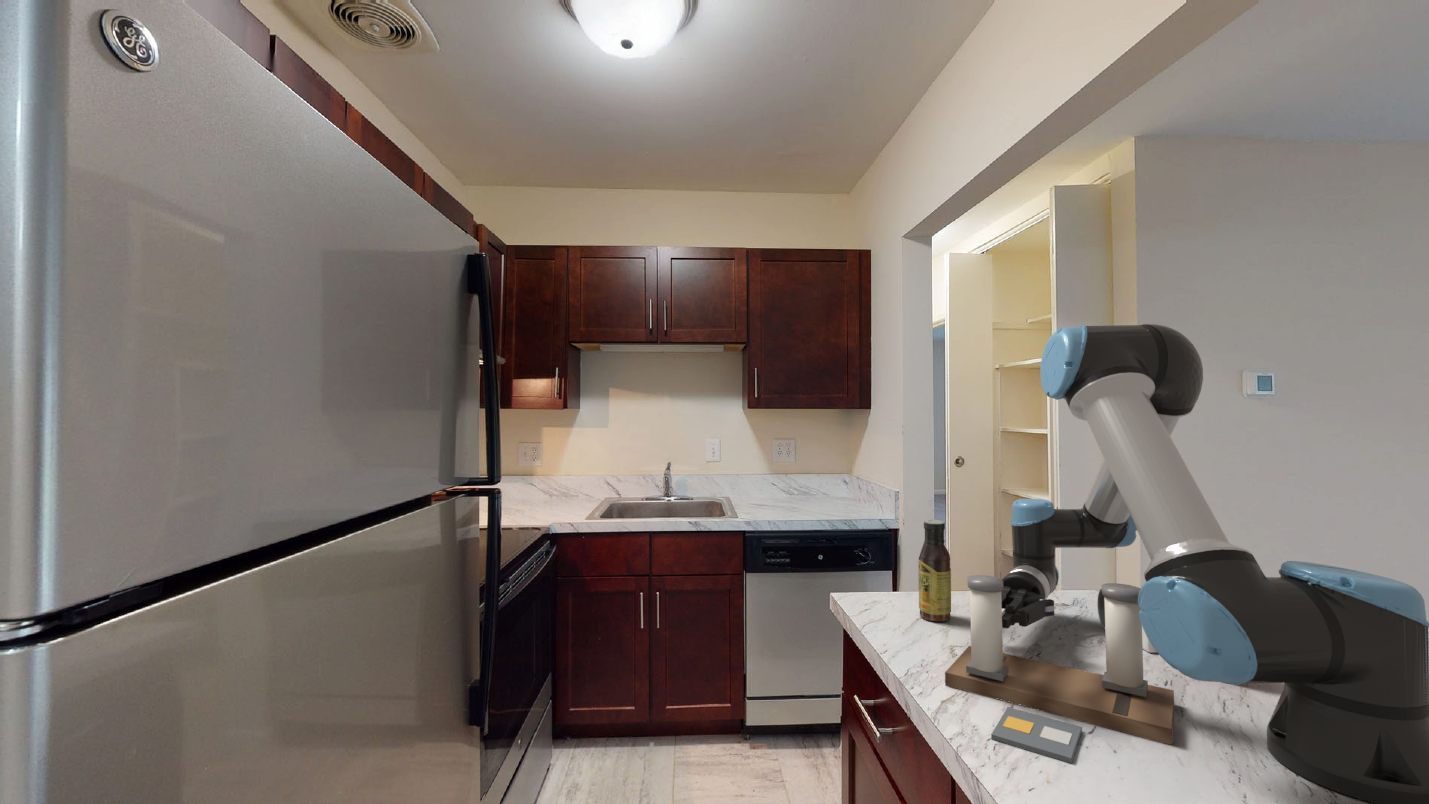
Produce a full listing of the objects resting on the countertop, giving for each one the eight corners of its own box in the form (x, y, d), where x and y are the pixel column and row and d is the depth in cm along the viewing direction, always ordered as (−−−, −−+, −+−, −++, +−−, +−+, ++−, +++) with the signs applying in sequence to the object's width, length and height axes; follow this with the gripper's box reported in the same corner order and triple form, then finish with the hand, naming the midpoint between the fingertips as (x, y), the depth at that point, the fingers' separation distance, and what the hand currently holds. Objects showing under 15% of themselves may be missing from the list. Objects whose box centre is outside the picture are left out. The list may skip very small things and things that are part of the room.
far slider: (1009, 671, 92) (1007, 578, 93) (1001, 683, 88) (999, 586, 89) (974, 662, 96) (972, 573, 96) (964, 673, 92) (962, 580, 92)
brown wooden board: (1174, 704, 86) (1173, 689, 86) (1172, 745, 76) (1171, 728, 76) (969, 657, 103) (969, 645, 103) (945, 685, 93) (945, 671, 93)
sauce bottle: (915, 612, 126) (913, 517, 127) (946, 612, 126) (944, 517, 126) (923, 623, 120) (921, 523, 120) (956, 624, 119) (953, 523, 120)
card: (1081, 731, 79) (1081, 725, 79) (1071, 763, 72) (1071, 757, 72) (1007, 710, 85) (1007, 705, 85) (991, 738, 78) (991, 733, 78)
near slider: (1148, 685, 87) (1145, 587, 87) (1146, 699, 83) (1143, 595, 83) (1105, 676, 90) (1102, 581, 90) (1101, 689, 86) (1098, 589, 86)
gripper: (1063, 617, 108) (1037, 662, 90) (986, 604, 117) (947, 642, 98) (1062, 576, 109) (1035, 612, 90) (985, 565, 117) (946, 596, 98)
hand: (990, 627), depth 94 cm, fingers closed
